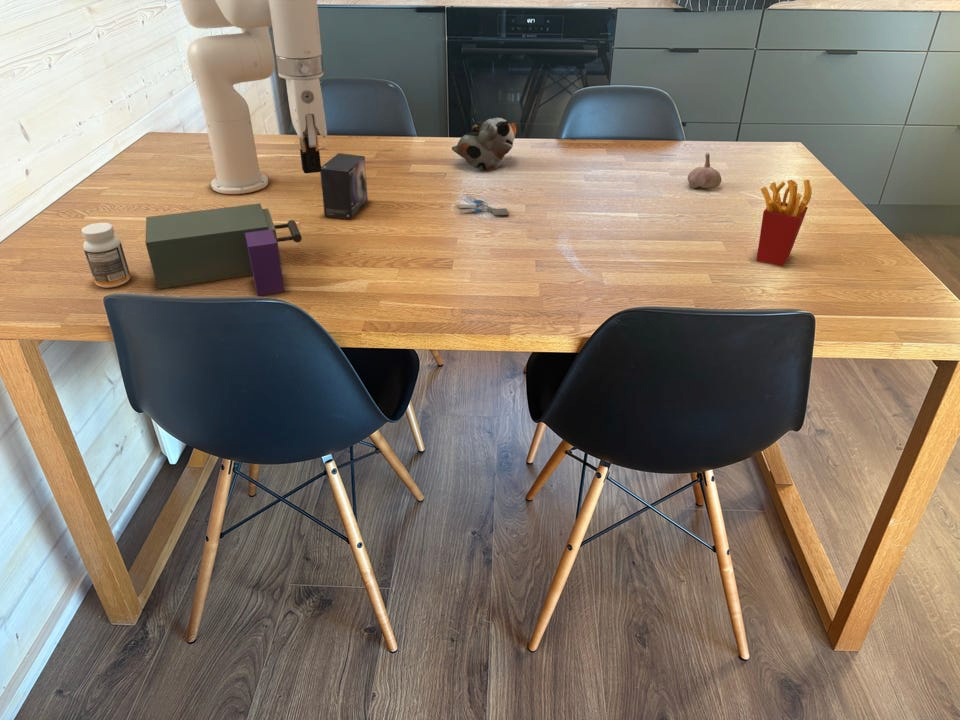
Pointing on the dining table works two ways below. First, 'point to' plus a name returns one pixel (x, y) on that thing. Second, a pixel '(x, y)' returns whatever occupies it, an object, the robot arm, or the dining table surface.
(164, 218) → the cabinet
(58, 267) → the dining table surface
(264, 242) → the snack carton
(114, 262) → the pill bottle
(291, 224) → the drawer
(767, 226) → the french fries
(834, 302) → the dining table surface
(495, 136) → the lucky cat figurine
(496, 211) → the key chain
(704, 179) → the garlic bulb
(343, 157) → the small box
